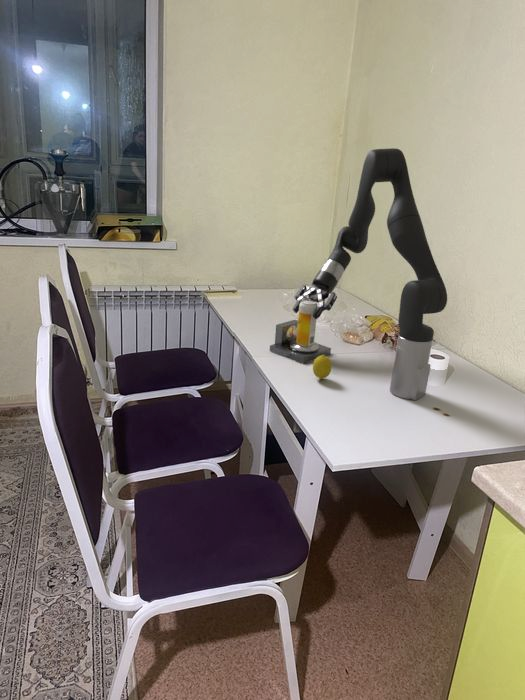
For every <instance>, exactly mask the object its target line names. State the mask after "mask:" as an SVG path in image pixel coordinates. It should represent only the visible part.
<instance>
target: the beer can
mask: <svg viewBox="0 0 525 700" xmlns="http://www.w3.org/2000/svg"><path fill="white" fill-rule="evenodd" d="M318 307H319V305H318V303H317V302H315V301H312V300H304V299H302V301H301V303H300V304H299V311H298V315H297V316H298V317H297V320H298V327H297V339H296V342H297V344H298V345H299V346H302V347H311V346H312V345H313V344H314V342H315V337H316V328H317V327H316V326H317V319H314V317H313V314H314V312H315V311H316V309H317V308H318Z"/></svg>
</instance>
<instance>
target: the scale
mask: <svg viewBox="0 0 525 700" xmlns="http://www.w3.org/2000/svg"><path fill="white" fill-rule="evenodd" d="M297 327H298V319H291V320H288V321H285V322H281V323H278V324H275V333H274V343H273V344H269V352H271V353H274V354H277V355H279V356H282V357H284V358H287V359H290V360H292V361H294V360H295V361H294V362H296V363H297V362H298V363H301V364H302V363H303V364H306V362H307V363H309V362H312V361H315V360H314V359H316V358H317V357H318V356H321V355H325V356H328V355H331V352H332V348H331V347H329V346H326V345H323V344H320V343H317V344H318V345H319V349H318V350H317V351H315V352H309V353H306V352H298V351H295V350H292V349H291V348H290V347H289V345H290V342H291V341H294V340H296V339H297ZM311 360H312V361H311Z"/></svg>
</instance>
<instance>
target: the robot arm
mask: <svg viewBox="0 0 525 700" xmlns="http://www.w3.org/2000/svg"><path fill="white" fill-rule="evenodd" d="M389 182H390V183H391V185H392V188H393V195H394V197H393V201H392V204H391V205H390V206H391V207H390V209H389V212H388V215H387V218H386V226H387V230H388V234H389V238H390V240H391V243H392V246H393V248H394V249H395V250H396V251H397V252H398V254H399V255H400V256H401V257H402V259H404V260H405V261H406V262H407V264H409V265H410V266H411V268H412V269H413V271H414V273H415V276H416V278H417V280H416V279H415V280H410V281H407V282H406V283H405V284H404V286H403V288H402V291H401V295H400V301H399V302H400V303H399V313H398V322H397V323H398V327H399V328H398V330H399V331H398V335H397V336H398V337H397V343H396V349H395V356H394V361H393V368H392V374H391V380H390V385H389V392H390V393H391V394H392V395H394V396H396V397H398V398H402V399H407V400H412V401H417V400H419V399H420V398H423V397H424V396H425V395H426V392H427V386H428V381H429V377H430V371H431V367H432V366H431V364H430V363H429V362H430V361H429V360H430V355H431V349H432V345H433V340H434V335H435V334H434V333H435V331H434V328H432V327H431V326H429V325H428V324H425V323H424V320H423V319H424V315H428V314H429V315H430V314H438V313H440V312H441V313H442V311H444V309H445V308H446V306H447V303H448V293H447V288H446V285H445V282H444V281H443V278H442V276H441V273H440V272H439V269H438V266H437V264H436V262H435V259H434V256H433V254H432V251H431V248H430V245H429V242H428V239H427V235H426V231H425V228H424V225H423V222H422V218H421V216H420V213H419V209H418V207H417V203H416V199H415V196H414V194H413V193H414V192H413V189H412V184H411V180H410V175H409V170H408V164H407V160H406V158H405V154H404V152H403V151H402V150H401V149H399V148H375V149H372V150H369V151H368V152H367V155H366V157H365V158H364V162H363V165H362V170H361V175H360V180H359V183H358V184H359V185H358V190H357V195H356V200H355V203H354V207H353V209H352V212H351V214H350V216H349V219H348V226H343V227H342V228H341V229H340V230H339V231H338V234H337V238H336V241H335V245H334V247H333V249H332V252H331V254H330V255H329V257H328V258H327V260H325V262H324V264H323V265H322V266H321V268H320V269H319V271H318V272H317V274H316V275H315V276H314V278H313V280H312V283H311V285H310V286H307V285H306V284H305V283H304V284H302V285H301V286H300V288H299V289H298V291H297V292H296V293H295V294H294V299H295V301H296V302H295V303H294V305H293V307H292V311H293V312H294V313H295V314H297V313H299V304H300V303H301V301H302V300H312V301H315V302H317V304H318V308H317V309H316V311H315V312H314V314H313V317H314V319H316V320H318V319H319V318H320V317H321V315H322V314H323V312H324V311H329V312H330V311H331V309H332V308H333V306H334V304H335V302H336V300H337V298H338V296H337V294H336V292H335V291H334V290H335V289H336V287H337V286H338V283H339V282H340V280H341V279H342V276H343V275H344V272H345V271H346V269H347V268H348V267H349V265H350V263H351V260H352V256H351V255H350V253H349V252H348V251H350V252H352V253H354V254H360V253H362V252H364V251H365V249H366V247H367V245H368V241H369V228H370V225H371V223H372V221H373V219H374V217H375V213H376V204H375V200H374V196H373V193H372V189H373V187H374V185H375V183H389ZM347 250H348V251H347ZM326 299H327V300H326Z"/></svg>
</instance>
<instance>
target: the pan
mask: <svg viewBox="0 0 525 700" xmlns="http://www.w3.org/2000/svg"><path fill="white" fill-rule="evenodd" d="M318 344H319V343H317V342H315V341H314V344H313V345H312V346H311V347H302V346H299V345H298V344H297V342H296V340H294V341H291V342H290V345H289V347H290V348H291V349H292V350H295V351H298V352H306V353H309V352H315V351H317V350H318V349H319V345H318Z"/></svg>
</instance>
